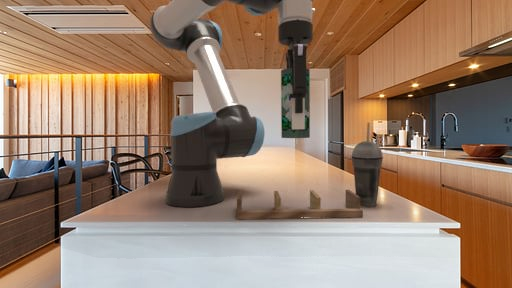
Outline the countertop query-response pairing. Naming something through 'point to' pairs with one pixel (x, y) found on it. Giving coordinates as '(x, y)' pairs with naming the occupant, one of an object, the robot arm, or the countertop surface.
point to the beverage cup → (367, 170)
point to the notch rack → (315, 210)
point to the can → (287, 106)
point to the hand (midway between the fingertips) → (295, 128)
